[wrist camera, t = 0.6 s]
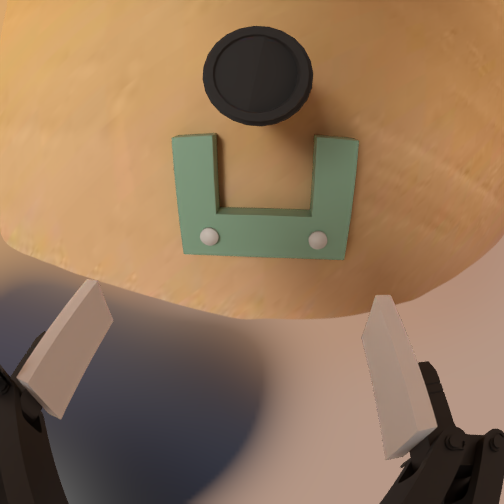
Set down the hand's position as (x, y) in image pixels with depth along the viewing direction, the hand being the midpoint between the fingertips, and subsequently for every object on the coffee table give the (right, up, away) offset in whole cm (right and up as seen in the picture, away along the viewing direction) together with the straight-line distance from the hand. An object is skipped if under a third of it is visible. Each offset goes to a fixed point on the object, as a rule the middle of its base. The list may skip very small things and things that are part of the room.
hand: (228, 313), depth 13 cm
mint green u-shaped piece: (+3, +9, +24) cm, 26 cm away
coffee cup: (+3, +23, +17) cm, 28 cm away
